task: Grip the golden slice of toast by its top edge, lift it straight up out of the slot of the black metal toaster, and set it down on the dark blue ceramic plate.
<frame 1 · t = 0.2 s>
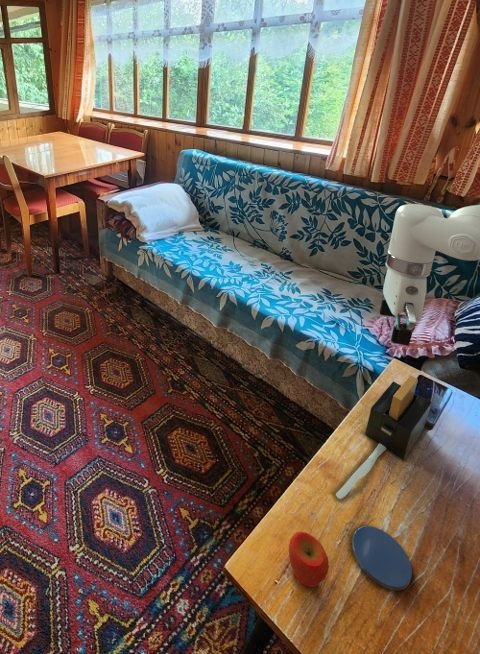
hand: (393, 328, 83), 29 cm above the table, tool pointing down, fingers open, 9 cm apart
toast: (397, 420, 89), point 4 cm above the table, touching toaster
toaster: (394, 432, 90), on the table
butter knife: (371, 463, 84), on the table, touching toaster
apple: (305, 573, 67), on the table
plate: (380, 558, 68), on the table
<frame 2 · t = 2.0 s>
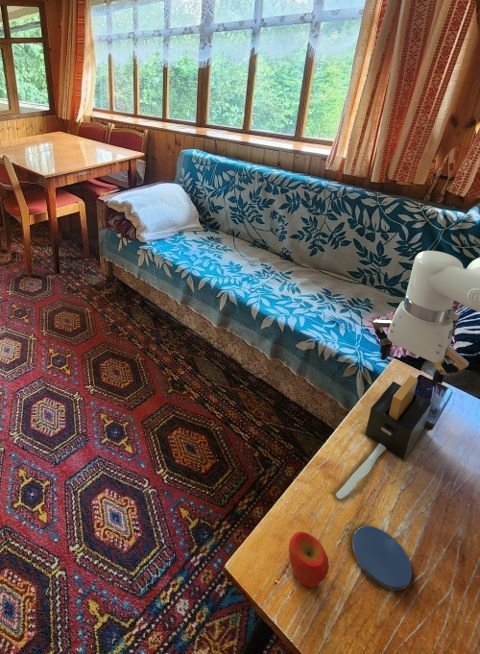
hand: (408, 369, 84), 20 cm above the table, tool pointing down, fingers open, 9 cm apart
nothing on the table moved.
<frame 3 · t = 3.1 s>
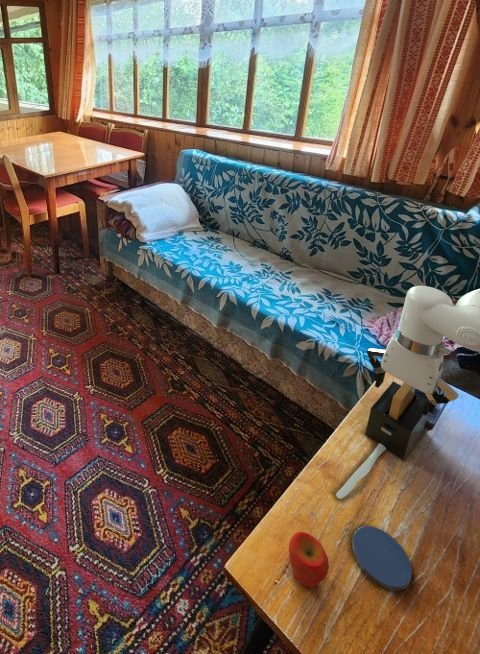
hand: (401, 397, 87), 11 cm above the table, tool pointing down, fingers open, 9 cm apart
nothing on the table moved.
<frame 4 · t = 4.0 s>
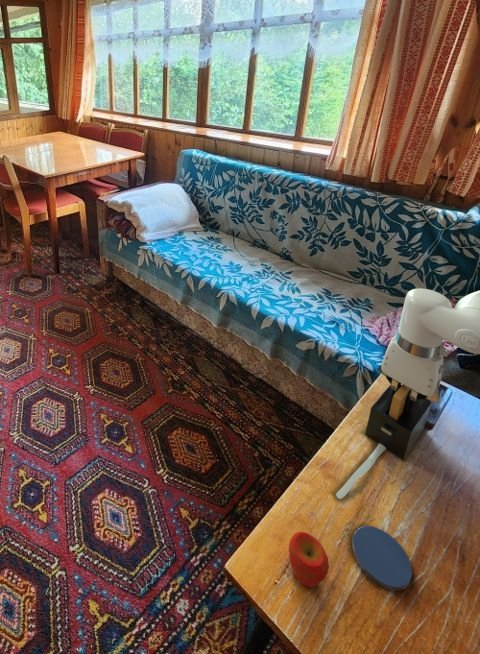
hand: (401, 404, 87), 9 cm above the table, tool pointing down, fingers closed on toast, 1 cm apart
toast: (397, 420, 89), point 4 cm above the table, touching gripper, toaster
everything else where it was.
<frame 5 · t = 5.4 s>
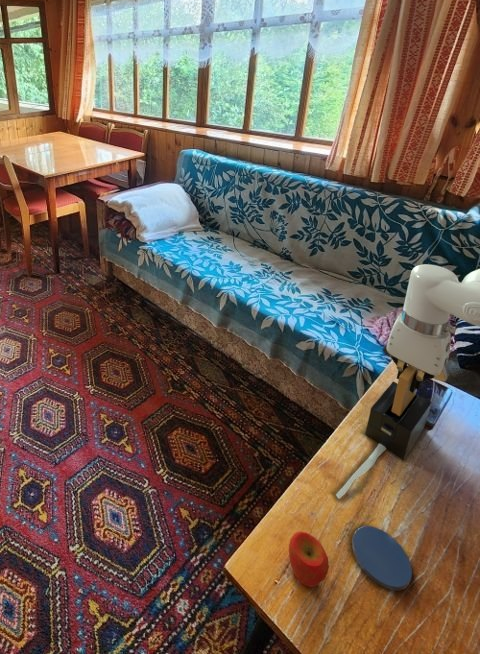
hand: (407, 385, 85), 15 cm above the table, tool pointing down, fingers closed on toast, 1 cm apart
toast: (403, 402, 86), point 10 cm above the table, touching gripper
everything else where it was.
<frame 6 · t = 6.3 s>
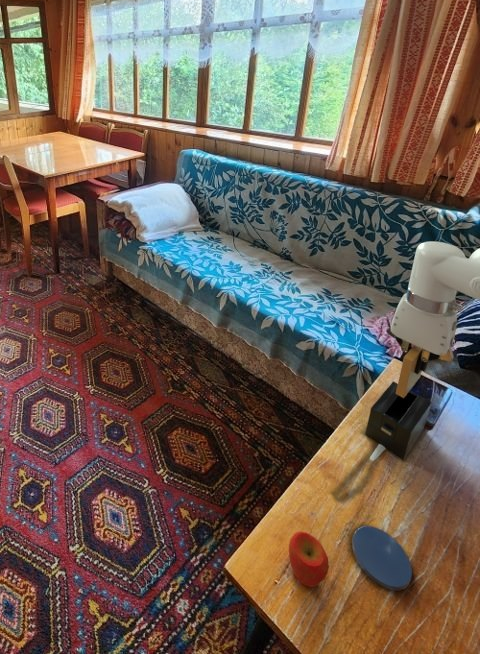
hand: (412, 367, 83), 21 cm above the table, tool pointing down, fingers closed on toast, 1 cm apart
toast: (408, 385, 85), point 15 cm above the table, touching gripper
butter knife: (371, 463, 84), on the table
everything else where it was.
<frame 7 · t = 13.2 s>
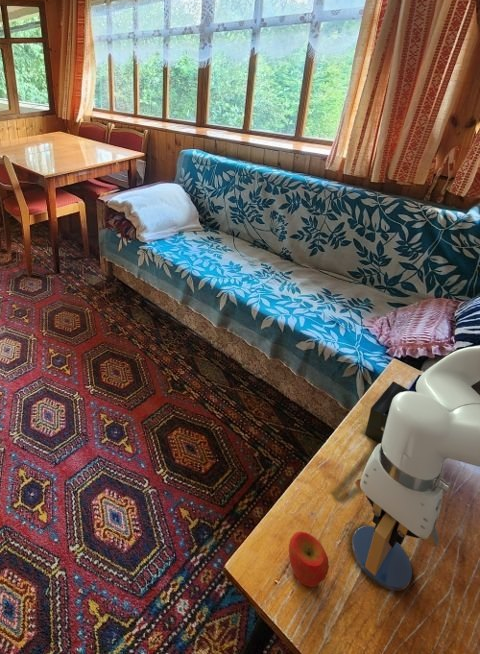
hand: (386, 533, 65), 7 cm above the table, tool pointing down, fingers closed on toast, 1 cm apart
toast: (381, 551, 67), point 2 cm above the table, touching gripper
everything else where it was.
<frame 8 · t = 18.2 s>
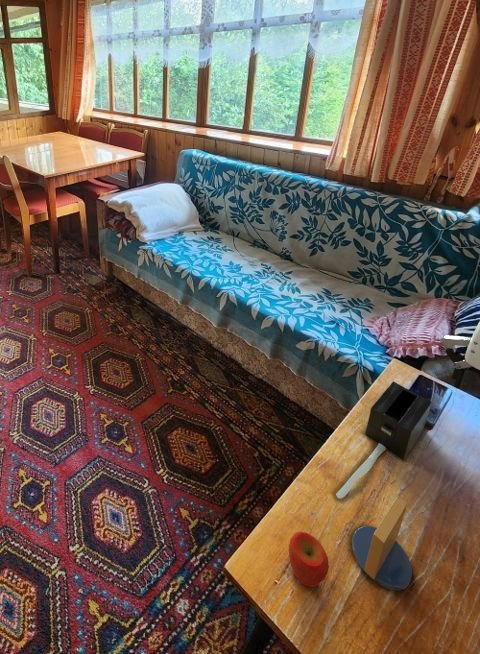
toast: (380, 554, 68), point 1 cm above the table, touching plate
butter knife: (371, 463, 84), on the table, touching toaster
everything else where it was.
at the end: toast inside the target area on the plate (0.1 cm from its centre), point 1.2 cm above the plate's base; the gripper is holding nothing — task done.
